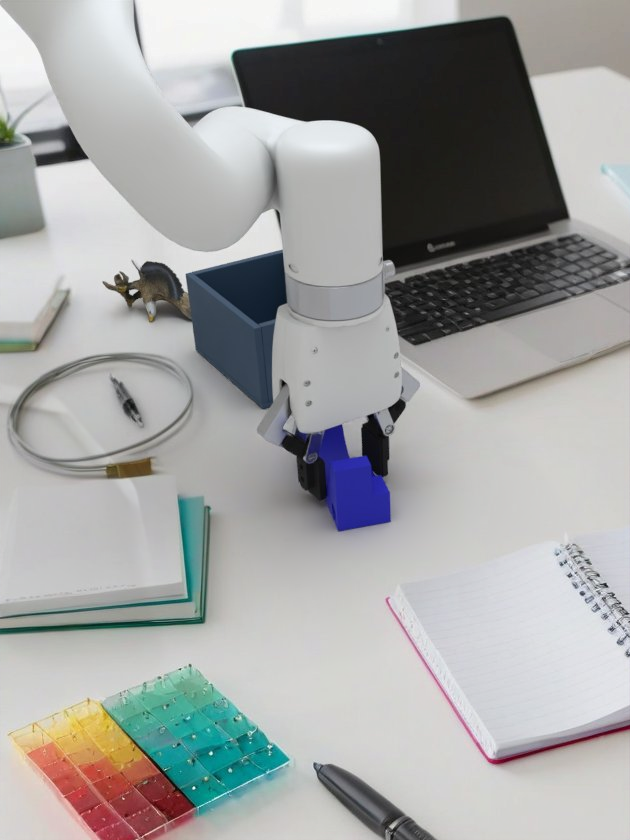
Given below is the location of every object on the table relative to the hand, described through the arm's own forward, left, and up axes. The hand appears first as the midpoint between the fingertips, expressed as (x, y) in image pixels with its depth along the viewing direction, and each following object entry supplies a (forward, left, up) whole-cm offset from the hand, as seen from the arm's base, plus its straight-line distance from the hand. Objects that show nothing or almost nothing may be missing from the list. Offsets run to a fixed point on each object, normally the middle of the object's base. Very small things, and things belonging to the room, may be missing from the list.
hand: (345, 479), depth 100 cm
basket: (+6, +23, -1) cm, 24 cm away
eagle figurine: (+1, +40, -1) cm, 40 cm away
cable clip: (0, 0, -1) cm, 1 cm away
